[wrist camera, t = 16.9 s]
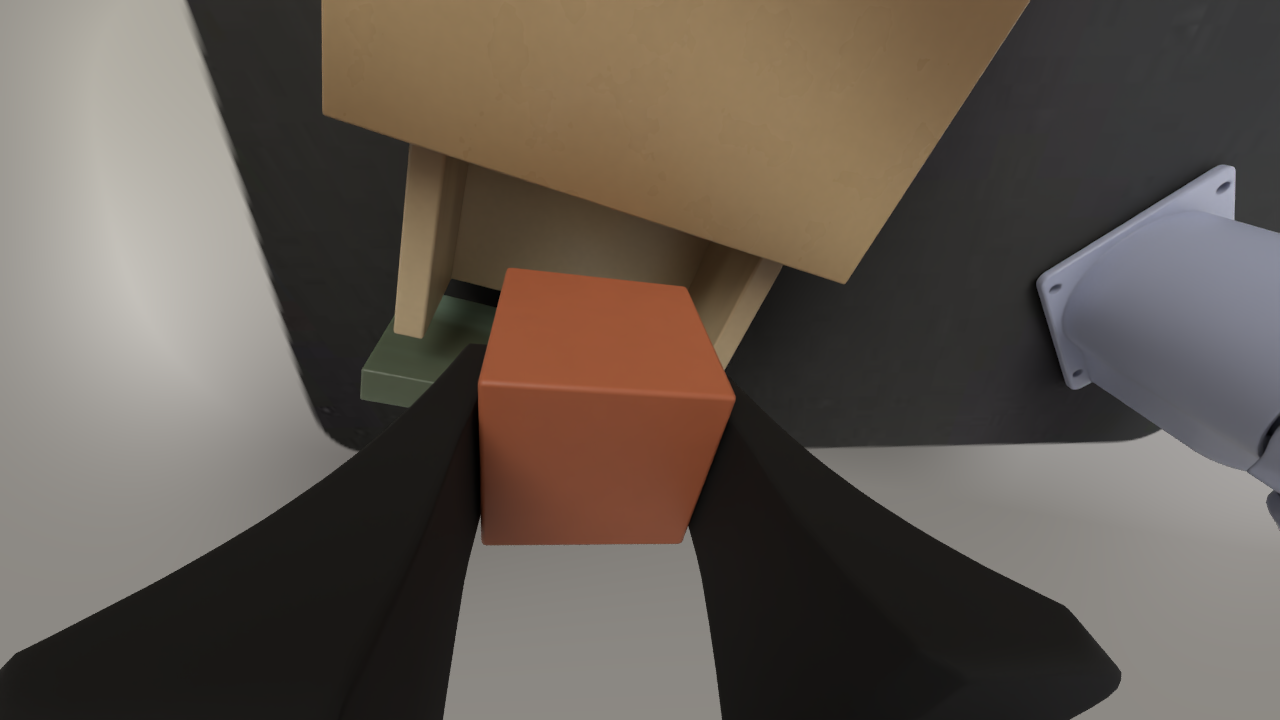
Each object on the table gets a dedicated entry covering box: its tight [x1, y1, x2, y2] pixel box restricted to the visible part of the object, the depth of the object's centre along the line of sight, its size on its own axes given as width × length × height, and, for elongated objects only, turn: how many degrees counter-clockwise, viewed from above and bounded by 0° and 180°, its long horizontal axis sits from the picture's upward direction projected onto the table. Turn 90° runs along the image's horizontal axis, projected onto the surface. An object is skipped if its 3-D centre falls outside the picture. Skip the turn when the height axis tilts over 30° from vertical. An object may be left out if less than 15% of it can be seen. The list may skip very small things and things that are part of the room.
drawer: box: [360, 144, 783, 407], centre depth 15 cm, size 18×11×5 cm, turn 160°
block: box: [478, 268, 736, 545], centre depth 10 cm, size 4×4×4 cm
